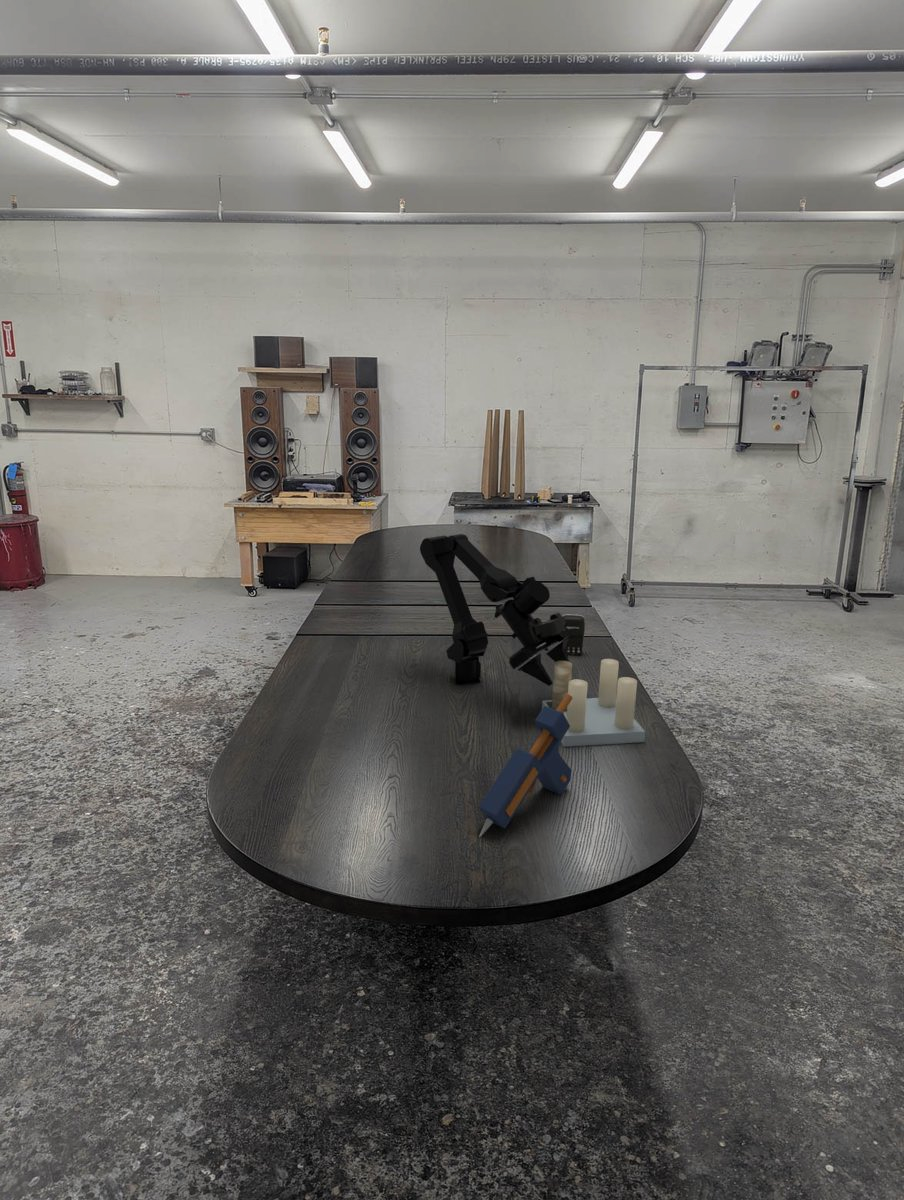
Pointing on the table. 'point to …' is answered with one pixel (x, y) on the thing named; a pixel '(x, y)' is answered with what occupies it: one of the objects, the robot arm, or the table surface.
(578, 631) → the battery charger
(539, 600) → the robot arm
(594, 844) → the table surface
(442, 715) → the table surface
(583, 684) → the stool seat
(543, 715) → the glue gun
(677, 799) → the table surface
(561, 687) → the loose leg
